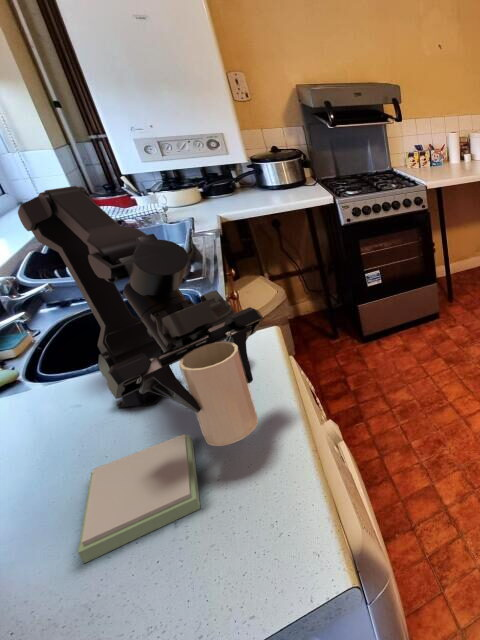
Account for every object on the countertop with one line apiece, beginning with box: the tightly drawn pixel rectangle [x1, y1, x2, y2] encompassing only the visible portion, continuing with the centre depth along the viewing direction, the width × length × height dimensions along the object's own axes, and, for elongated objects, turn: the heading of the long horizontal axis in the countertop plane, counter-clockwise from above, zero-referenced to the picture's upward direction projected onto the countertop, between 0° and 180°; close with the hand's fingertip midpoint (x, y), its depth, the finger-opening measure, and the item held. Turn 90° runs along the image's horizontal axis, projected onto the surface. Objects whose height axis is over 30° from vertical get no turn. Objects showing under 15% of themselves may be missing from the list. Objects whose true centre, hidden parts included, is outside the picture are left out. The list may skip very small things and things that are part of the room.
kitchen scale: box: [77, 433, 201, 564], centre depth 62 cm, size 15×12×3 cm
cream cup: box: [178, 342, 259, 447], centre depth 63 cm, size 7×7×13 cm
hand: (226, 395), depth 62 cm, fingers closed on cream cup, 7 cm apart
